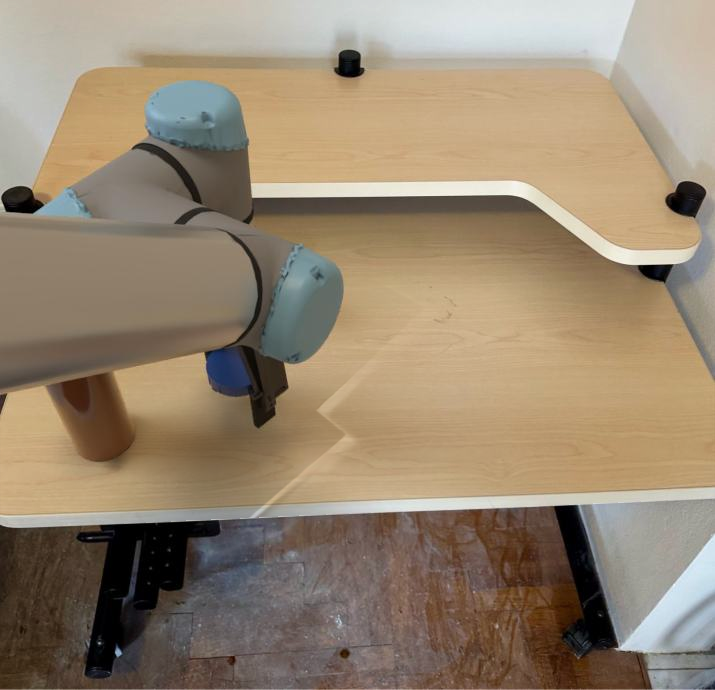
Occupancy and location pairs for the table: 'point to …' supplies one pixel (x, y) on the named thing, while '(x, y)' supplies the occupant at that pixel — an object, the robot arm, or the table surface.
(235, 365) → the lid
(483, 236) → the table surface
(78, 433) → the jar
